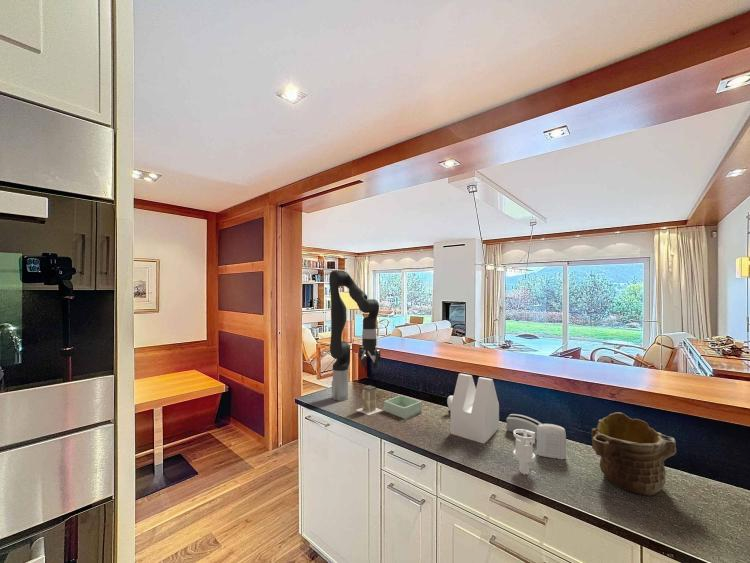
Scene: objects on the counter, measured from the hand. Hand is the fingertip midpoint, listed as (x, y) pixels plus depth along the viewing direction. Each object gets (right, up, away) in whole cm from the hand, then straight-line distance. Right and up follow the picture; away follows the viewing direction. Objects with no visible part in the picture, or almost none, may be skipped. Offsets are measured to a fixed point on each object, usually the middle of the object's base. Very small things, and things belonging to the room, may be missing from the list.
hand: (369, 367), depth 173 cm
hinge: (+70, -24, -27) cm, 79 cm away
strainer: (+57, -23, -55) cm, 82 cm away
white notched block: (+49, -24, -22) cm, 59 cm away
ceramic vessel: (+88, -23, -62) cm, 110 cm away
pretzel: (+46, -24, -2) cm, 52 cm away
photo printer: (+72, -23, -44) cm, 88 cm away
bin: (+18, -23, -1) cm, 29 cm away
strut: (0, -22, 0) cm, 22 cm away
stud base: (0, -23, 0) cm, 23 cm away
